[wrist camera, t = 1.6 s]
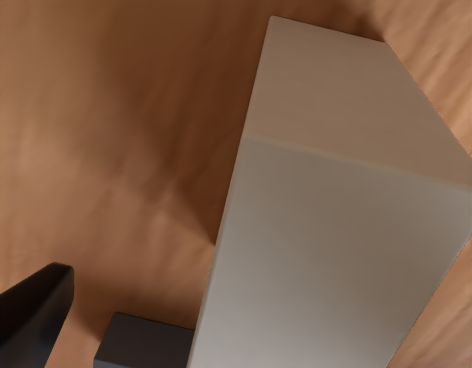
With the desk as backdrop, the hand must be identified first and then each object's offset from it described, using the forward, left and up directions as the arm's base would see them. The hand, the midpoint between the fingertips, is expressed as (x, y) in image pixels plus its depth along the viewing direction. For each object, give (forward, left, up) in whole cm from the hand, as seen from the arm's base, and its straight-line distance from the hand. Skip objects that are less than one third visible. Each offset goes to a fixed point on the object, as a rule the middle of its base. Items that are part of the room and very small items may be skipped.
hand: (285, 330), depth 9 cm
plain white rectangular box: (0, 0, -7) cm, 7 cm away
